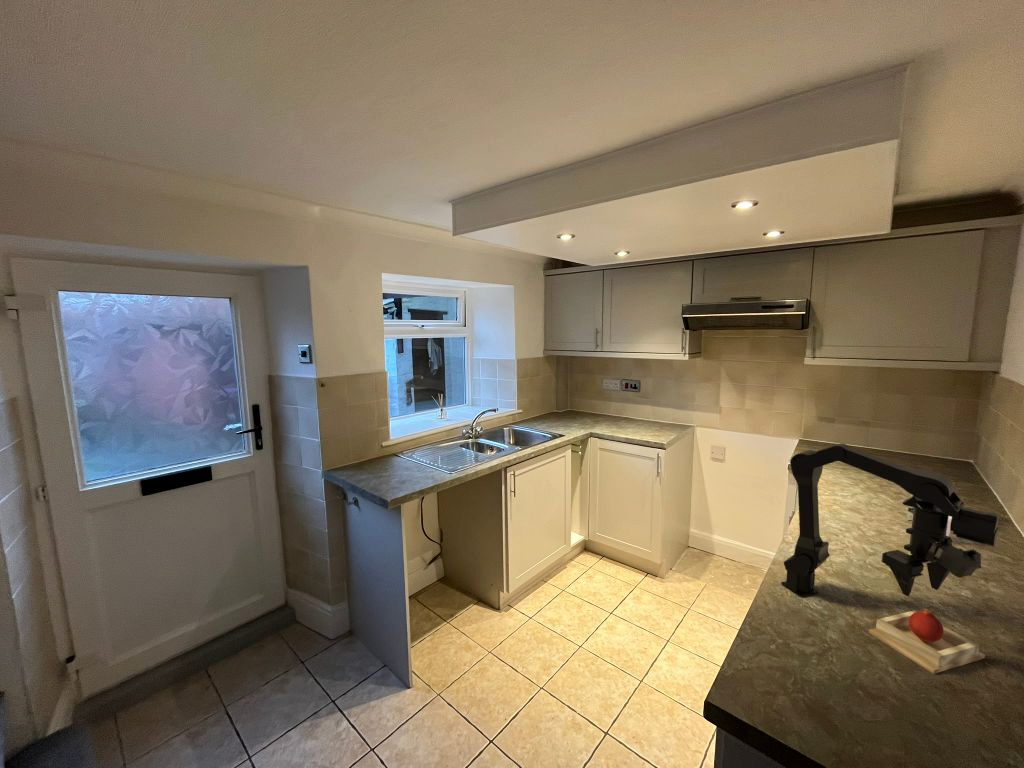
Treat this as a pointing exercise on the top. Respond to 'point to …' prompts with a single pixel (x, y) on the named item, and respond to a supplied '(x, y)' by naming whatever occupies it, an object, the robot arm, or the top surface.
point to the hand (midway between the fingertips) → (920, 591)
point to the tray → (926, 644)
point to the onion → (926, 626)
